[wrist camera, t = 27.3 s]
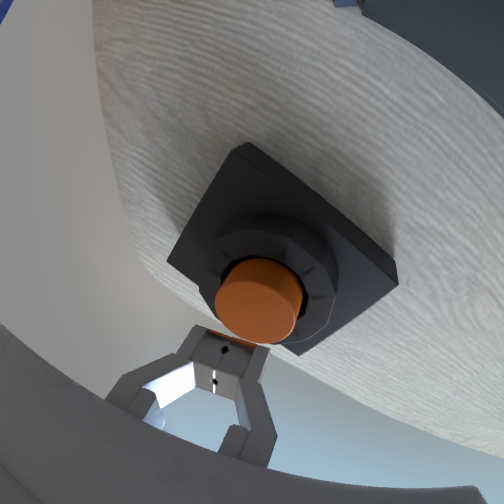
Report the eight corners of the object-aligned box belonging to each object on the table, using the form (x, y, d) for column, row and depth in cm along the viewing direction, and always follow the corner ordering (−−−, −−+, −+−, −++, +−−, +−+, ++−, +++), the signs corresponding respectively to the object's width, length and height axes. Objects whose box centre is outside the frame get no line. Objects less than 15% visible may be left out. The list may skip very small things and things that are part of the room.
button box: (183, 243, 19) (149, 279, 16) (247, 140, 14) (214, 158, 11) (305, 333, 19) (292, 379, 16) (395, 260, 15) (402, 309, 12)
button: (216, 288, 15) (201, 311, 13) (254, 242, 13) (240, 264, 11) (273, 329, 15) (263, 354, 14) (319, 291, 13) (313, 317, 12)
